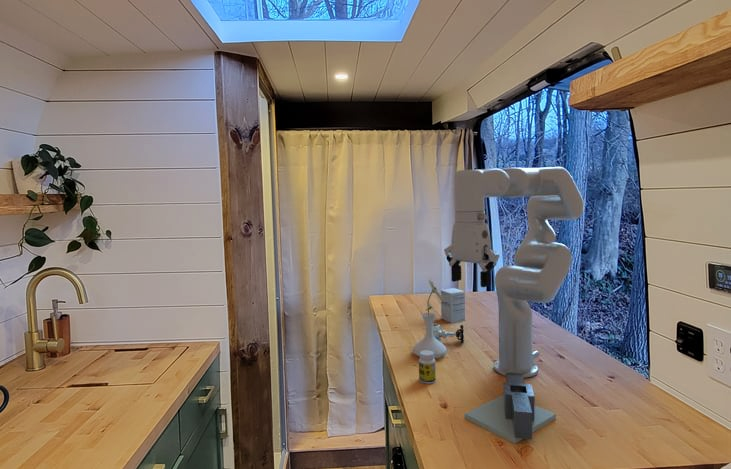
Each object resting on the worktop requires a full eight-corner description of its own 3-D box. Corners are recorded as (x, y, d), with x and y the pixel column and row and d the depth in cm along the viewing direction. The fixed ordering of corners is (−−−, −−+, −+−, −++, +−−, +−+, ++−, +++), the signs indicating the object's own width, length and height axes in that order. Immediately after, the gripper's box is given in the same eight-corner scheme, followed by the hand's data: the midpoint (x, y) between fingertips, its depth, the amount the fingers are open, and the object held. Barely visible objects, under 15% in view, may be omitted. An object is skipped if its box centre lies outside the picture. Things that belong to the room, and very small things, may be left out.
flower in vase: (443, 363, 140) (441, 286, 138) (408, 359, 144) (406, 284, 142) (451, 349, 152) (449, 277, 150) (418, 345, 156) (416, 276, 154)
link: (502, 397, 114) (502, 375, 113) (528, 399, 112) (528, 376, 112) (507, 437, 96) (507, 410, 95) (539, 439, 94) (539, 413, 94)
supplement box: (440, 319, 187) (440, 289, 186) (455, 316, 190) (454, 287, 189) (451, 323, 180) (450, 293, 179) (466, 320, 183) (465, 290, 182)
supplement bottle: (416, 381, 128) (415, 353, 127) (424, 375, 132) (423, 348, 131) (430, 385, 125) (429, 356, 124) (438, 379, 129) (438, 351, 128)
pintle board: (512, 391, 119) (512, 369, 119) (565, 413, 107) (565, 388, 107) (461, 416, 107) (461, 392, 107) (514, 443, 95) (514, 416, 95)
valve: (429, 345, 156) (464, 346, 154) (428, 327, 156) (463, 328, 154) (429, 339, 163) (463, 340, 161) (429, 322, 162) (462, 322, 160)
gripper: (507, 218, 109) (507, 286, 111) (454, 216, 123) (455, 276, 125) (487, 220, 105) (488, 291, 107) (435, 218, 119) (436, 280, 120)
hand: (470, 283), depth 116 cm, fingers open, 9 cm apart
